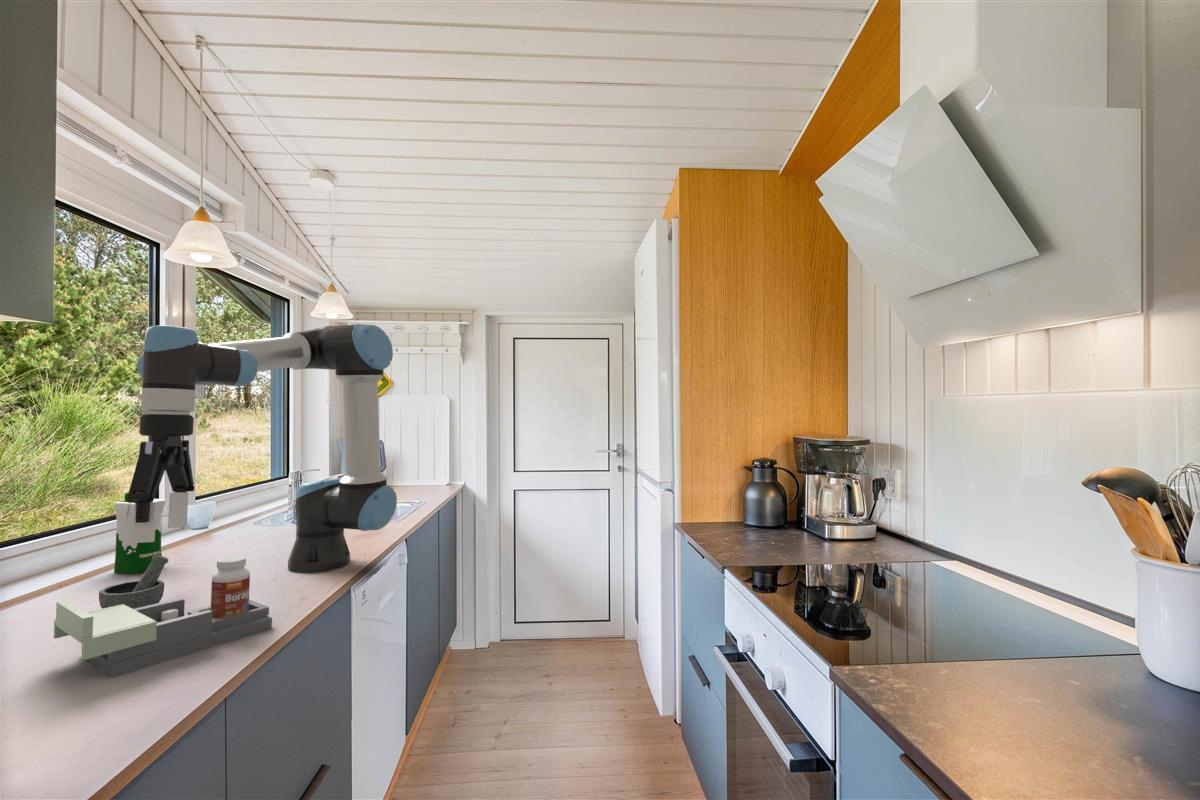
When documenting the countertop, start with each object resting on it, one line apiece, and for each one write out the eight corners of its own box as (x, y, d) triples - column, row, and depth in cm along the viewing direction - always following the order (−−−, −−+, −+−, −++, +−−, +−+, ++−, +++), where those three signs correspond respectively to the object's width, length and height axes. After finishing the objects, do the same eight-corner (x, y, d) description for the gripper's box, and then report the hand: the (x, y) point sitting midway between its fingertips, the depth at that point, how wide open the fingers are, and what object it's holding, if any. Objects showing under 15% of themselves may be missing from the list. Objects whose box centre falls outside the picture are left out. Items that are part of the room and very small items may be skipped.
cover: (122, 621, 99) (123, 587, 99) (156, 639, 91) (157, 603, 91) (53, 637, 91) (54, 601, 92) (83, 660, 83) (84, 619, 83)
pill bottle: (225, 624, 103) (227, 564, 103) (202, 620, 105) (204, 561, 105) (256, 613, 109) (257, 556, 109) (234, 609, 111) (235, 553, 111)
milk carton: (142, 564, 150) (144, 490, 151) (169, 566, 148) (171, 491, 149) (107, 573, 142) (109, 494, 142) (134, 576, 139) (137, 496, 140)
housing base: (238, 612, 114) (239, 583, 115) (274, 627, 107) (274, 596, 107) (81, 655, 94) (82, 619, 94) (111, 677, 86) (112, 638, 87)
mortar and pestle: (118, 634, 103) (120, 569, 103) (85, 628, 106) (88, 564, 106) (181, 614, 114) (183, 555, 114) (150, 608, 117) (151, 551, 117)
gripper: (171, 414, 109) (166, 523, 108) (104, 411, 85) (96, 550, 84) (216, 414, 111) (211, 521, 110) (162, 412, 88) (155, 548, 87)
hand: (161, 534), depth 97 cm, fingers open, 13 cm apart
